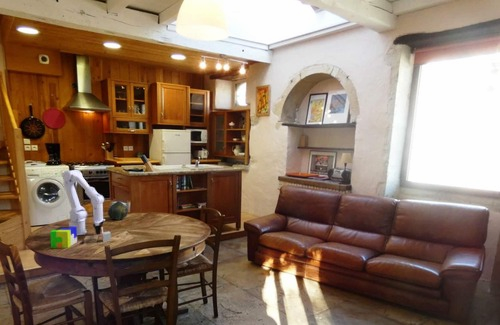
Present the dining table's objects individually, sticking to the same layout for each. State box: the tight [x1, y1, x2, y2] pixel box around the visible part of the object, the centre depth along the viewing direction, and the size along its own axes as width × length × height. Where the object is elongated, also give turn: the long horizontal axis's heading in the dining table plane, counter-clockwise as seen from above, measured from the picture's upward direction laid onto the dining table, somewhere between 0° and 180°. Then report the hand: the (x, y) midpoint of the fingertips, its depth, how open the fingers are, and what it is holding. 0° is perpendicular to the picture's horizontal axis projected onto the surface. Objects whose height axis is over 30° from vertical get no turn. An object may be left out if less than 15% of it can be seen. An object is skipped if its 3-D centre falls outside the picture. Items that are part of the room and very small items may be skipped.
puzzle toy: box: [50, 226, 78, 249], centre depth 183 cm, size 10×10×10 cm
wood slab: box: [83, 234, 99, 244], centre depth 190 cm, size 7×7×3 cm
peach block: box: [94, 226, 104, 237], centre depth 202 cm, size 4×4×5 cm
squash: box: [107, 200, 129, 221], centre depth 242 cm, size 14×15×15 cm
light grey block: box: [101, 230, 112, 243], centre depth 192 cm, size 4×4×5 cm
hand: (98, 233), depth 202 cm, fingers closed on peach block, 4 cm apart
